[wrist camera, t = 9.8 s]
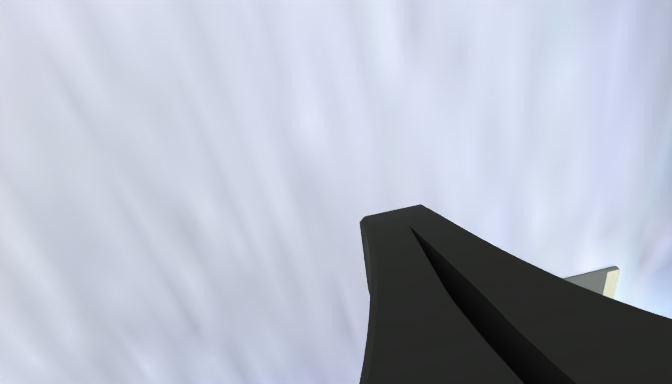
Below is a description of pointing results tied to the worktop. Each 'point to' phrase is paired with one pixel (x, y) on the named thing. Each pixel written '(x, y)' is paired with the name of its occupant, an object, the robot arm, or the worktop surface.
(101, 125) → the worktop surface
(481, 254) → the robot arm
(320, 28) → the worktop surface
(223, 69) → the worktop surface
